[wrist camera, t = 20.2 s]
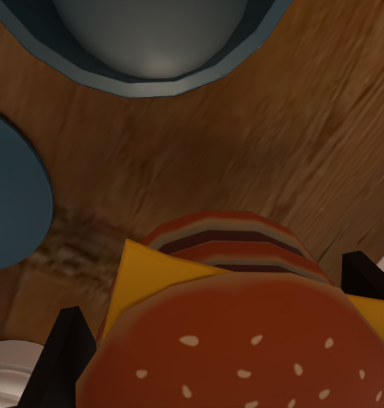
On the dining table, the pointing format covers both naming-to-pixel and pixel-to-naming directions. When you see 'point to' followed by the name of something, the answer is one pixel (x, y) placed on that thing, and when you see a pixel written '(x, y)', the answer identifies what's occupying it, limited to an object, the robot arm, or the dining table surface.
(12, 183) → the lid
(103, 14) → the blue pot
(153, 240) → the hamburger
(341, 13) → the dining table surface
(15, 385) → the honey pot
